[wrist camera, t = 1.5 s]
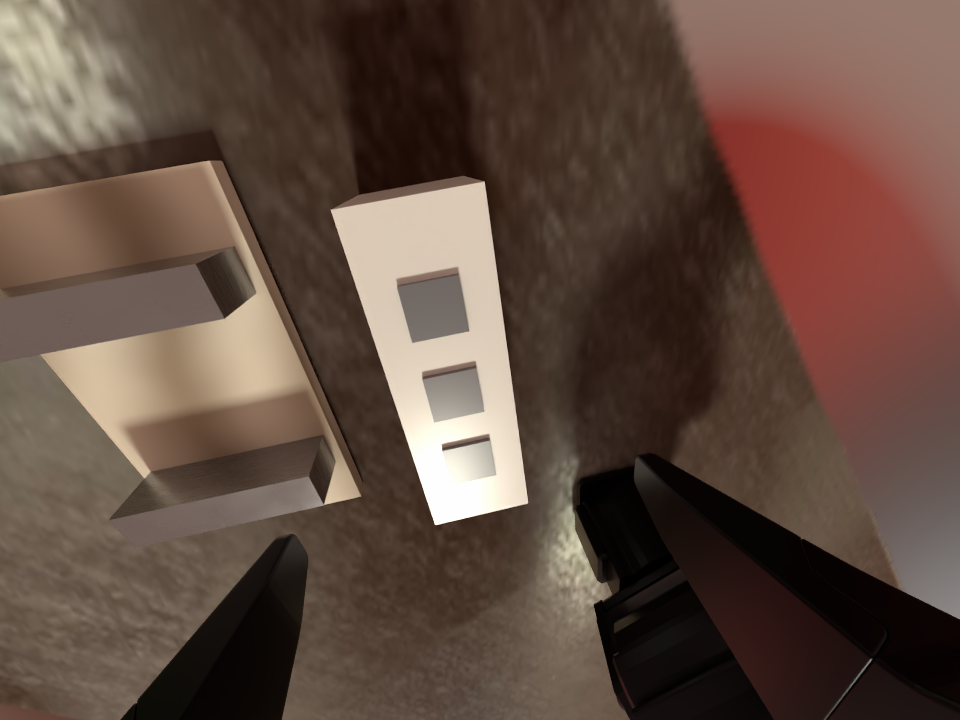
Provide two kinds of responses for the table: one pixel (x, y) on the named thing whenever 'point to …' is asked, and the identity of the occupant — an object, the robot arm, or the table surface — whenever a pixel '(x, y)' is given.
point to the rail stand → (172, 347)
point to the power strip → (440, 337)
